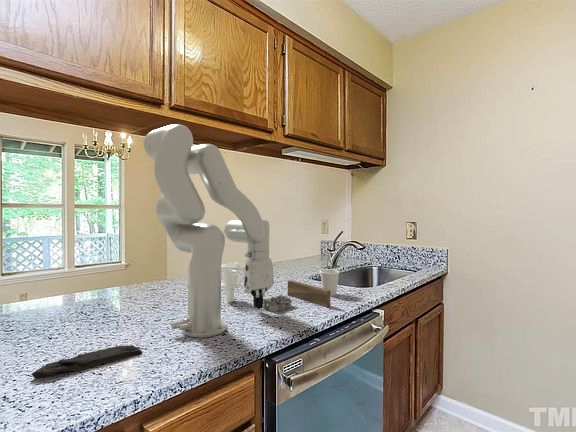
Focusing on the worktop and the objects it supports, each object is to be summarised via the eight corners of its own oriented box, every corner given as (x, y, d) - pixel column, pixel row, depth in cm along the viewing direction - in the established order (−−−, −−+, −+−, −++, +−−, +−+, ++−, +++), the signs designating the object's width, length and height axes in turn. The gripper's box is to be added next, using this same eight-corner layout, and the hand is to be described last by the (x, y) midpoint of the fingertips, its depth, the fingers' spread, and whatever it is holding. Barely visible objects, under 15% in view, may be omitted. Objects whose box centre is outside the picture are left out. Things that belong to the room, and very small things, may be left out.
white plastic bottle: (235, 303, 124) (236, 264, 123) (218, 302, 125) (218, 263, 125) (241, 298, 131) (241, 261, 130) (224, 297, 132) (224, 260, 131)
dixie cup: (342, 293, 141) (342, 270, 141) (334, 297, 134) (335, 273, 133) (324, 290, 145) (324, 268, 145) (316, 295, 138) (316, 271, 138)
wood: (135, 345, 86) (135, 334, 86) (145, 354, 81) (145, 342, 81) (29, 373, 72) (29, 359, 71) (32, 386, 66) (31, 372, 66)
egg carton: (272, 313, 114) (272, 302, 113) (259, 308, 119) (259, 297, 119) (294, 307, 121) (294, 296, 120) (281, 303, 126) (281, 292, 126)
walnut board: (326, 307, 120) (326, 291, 120) (287, 295, 137) (287, 280, 137) (330, 306, 122) (330, 290, 122) (291, 294, 138) (291, 280, 138)
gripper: (246, 258, 105) (246, 315, 106) (281, 254, 115) (281, 306, 115) (234, 256, 111) (234, 309, 111) (268, 252, 121) (268, 301, 121)
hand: (258, 307), depth 113 cm, fingers closed
